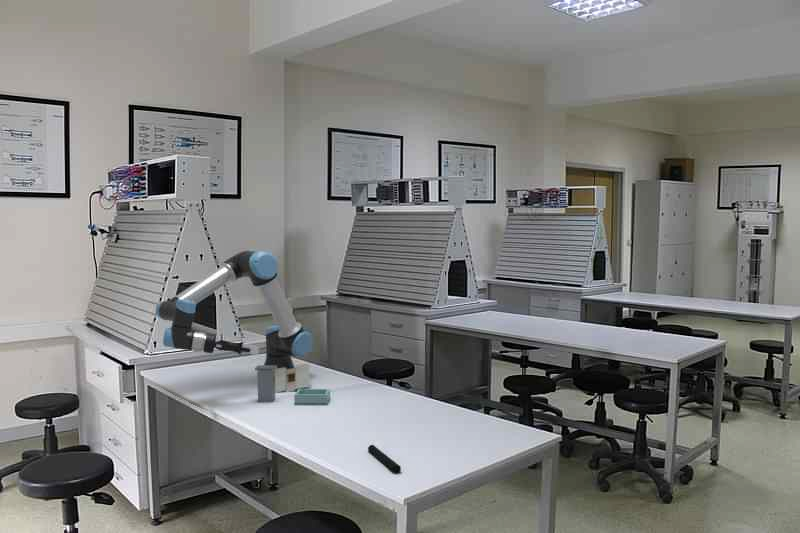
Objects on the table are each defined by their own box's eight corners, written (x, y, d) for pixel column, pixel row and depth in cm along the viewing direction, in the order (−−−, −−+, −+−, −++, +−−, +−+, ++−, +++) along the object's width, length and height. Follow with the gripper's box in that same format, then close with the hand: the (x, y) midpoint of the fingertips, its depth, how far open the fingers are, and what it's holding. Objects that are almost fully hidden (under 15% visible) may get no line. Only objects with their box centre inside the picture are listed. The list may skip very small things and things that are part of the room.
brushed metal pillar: (258, 398, 251) (257, 365, 250) (277, 398, 251) (277, 365, 250) (255, 401, 246) (254, 367, 246) (275, 402, 246) (274, 367, 245)
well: (298, 398, 251) (298, 388, 251) (330, 398, 251) (330, 388, 251) (294, 404, 242) (294, 394, 242) (327, 404, 242) (327, 395, 242)
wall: (314, 397, 267) (312, 369, 278) (310, 386, 261) (309, 358, 271) (276, 403, 266) (276, 375, 277) (272, 393, 260) (272, 364, 271)
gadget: (366, 444, 193) (393, 466, 175) (374, 443, 194) (401, 465, 176) (366, 452, 193) (393, 475, 175) (374, 450, 194) (401, 473, 176)
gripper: (204, 349, 256) (256, 357, 261) (200, 354, 232) (257, 362, 236) (208, 332, 256) (259, 339, 261) (204, 334, 232) (260, 343, 237)
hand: (258, 350), depth 249 cm, fingers open, 13 cm apart
